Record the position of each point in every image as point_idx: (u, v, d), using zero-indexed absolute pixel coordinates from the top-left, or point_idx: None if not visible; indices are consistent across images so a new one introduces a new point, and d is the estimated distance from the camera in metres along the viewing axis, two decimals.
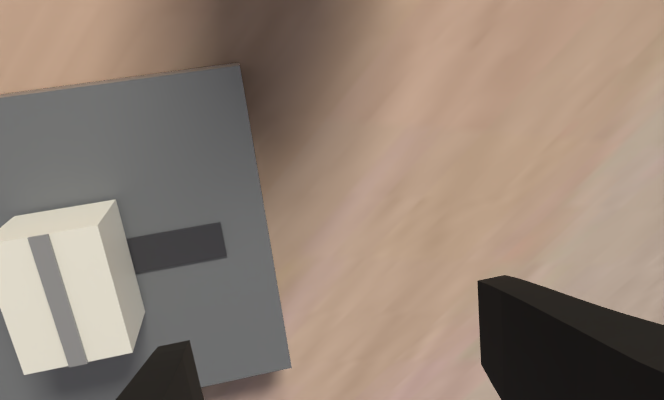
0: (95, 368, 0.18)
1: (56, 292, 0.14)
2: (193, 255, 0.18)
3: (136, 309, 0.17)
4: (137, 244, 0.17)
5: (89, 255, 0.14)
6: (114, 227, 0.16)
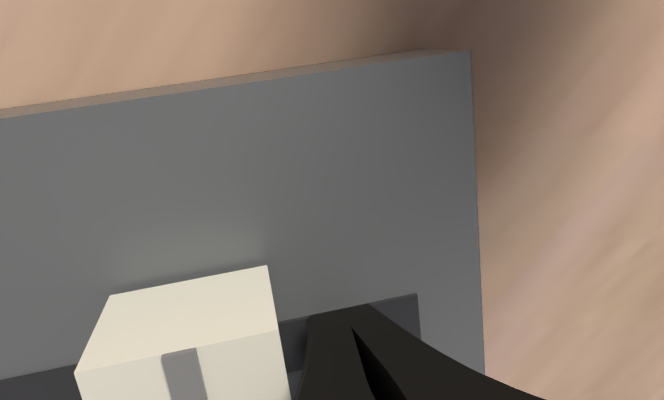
0: None
1: None
2: None
3: None
4: (293, 331, 0.11)
5: (260, 380, 0.08)
6: None
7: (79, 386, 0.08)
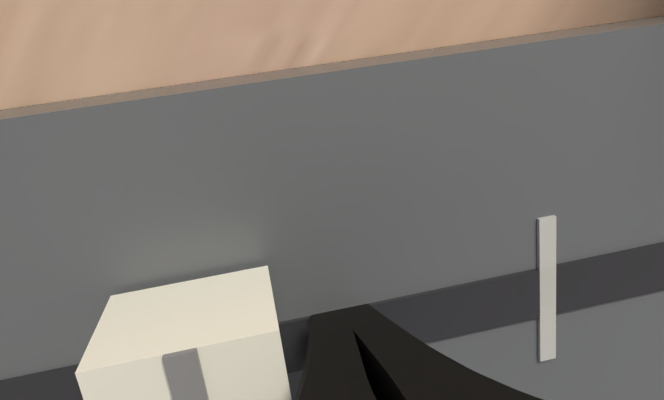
0: None
1: None
2: None
3: None
4: (615, 263, 0.12)
5: (261, 380, 0.08)
6: (276, 315, 0.10)
7: (80, 386, 0.08)
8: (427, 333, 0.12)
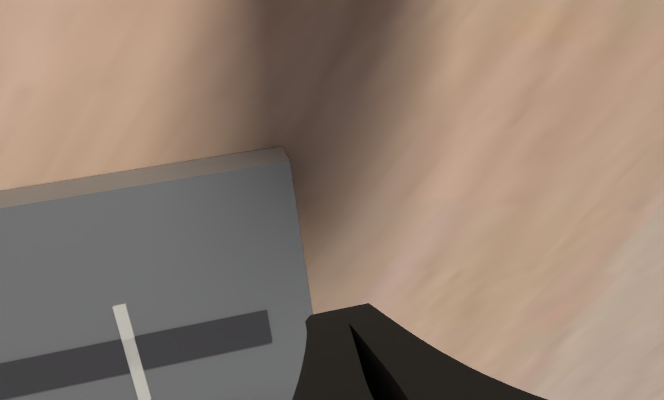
0: None
1: None
2: (239, 342, 0.18)
3: None
4: (185, 334, 0.17)
5: None
6: None
7: None
8: (41, 384, 0.17)
